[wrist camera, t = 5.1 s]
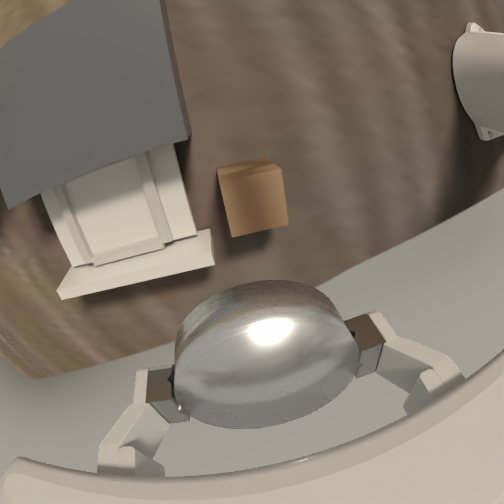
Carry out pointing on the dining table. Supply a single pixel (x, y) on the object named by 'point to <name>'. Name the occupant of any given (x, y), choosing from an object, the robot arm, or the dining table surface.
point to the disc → (262, 355)
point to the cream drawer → (126, 224)
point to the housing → (86, 93)
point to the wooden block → (253, 196)
